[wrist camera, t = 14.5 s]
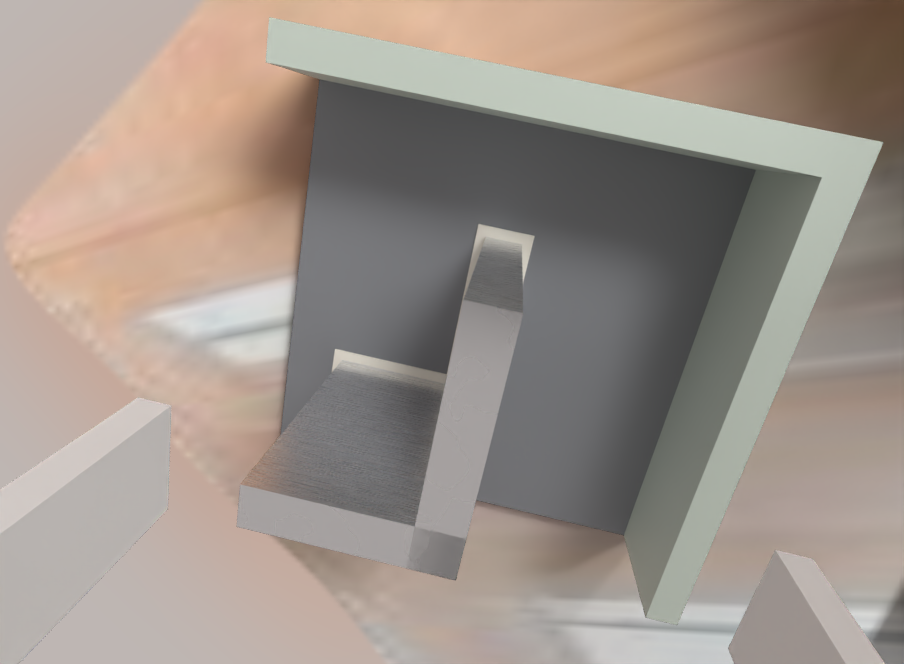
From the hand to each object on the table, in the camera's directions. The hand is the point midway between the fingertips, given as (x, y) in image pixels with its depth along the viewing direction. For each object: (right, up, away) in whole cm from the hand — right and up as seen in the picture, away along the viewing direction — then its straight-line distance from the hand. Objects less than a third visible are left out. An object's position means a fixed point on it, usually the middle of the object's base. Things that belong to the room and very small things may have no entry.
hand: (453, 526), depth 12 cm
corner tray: (+3, +5, +18) cm, 19 cm away
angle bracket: (-2, +5, +17) cm, 18 cm away
